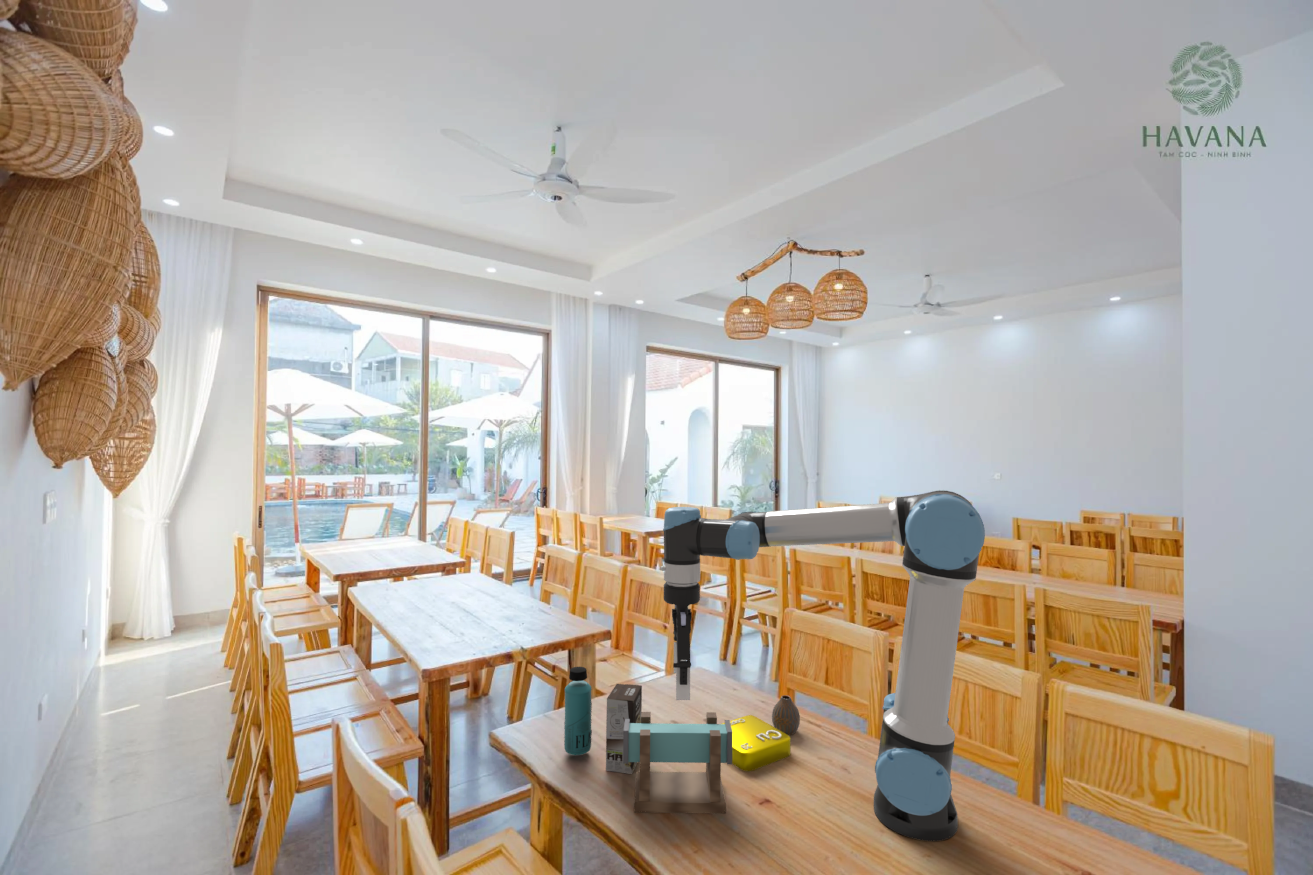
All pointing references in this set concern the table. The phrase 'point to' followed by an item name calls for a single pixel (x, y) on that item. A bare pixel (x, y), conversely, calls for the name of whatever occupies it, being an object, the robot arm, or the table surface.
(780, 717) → the vase
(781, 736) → the element tile
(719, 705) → the table surface
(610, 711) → the coffee box
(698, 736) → the teal bar
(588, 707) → the beverage bottle
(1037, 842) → the table surface
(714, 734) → the rack
